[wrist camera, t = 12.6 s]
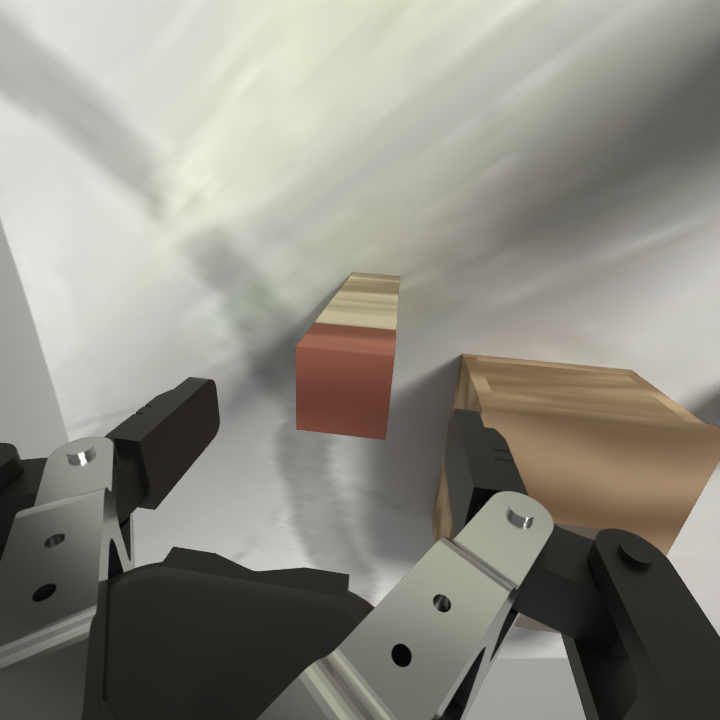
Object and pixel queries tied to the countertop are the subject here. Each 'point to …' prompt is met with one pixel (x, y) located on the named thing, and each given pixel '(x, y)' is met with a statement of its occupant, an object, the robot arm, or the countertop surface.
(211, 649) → the robot arm
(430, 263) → the countertop surface
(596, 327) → the countertop surface
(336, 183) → the countertop surface
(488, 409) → the lid
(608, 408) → the wooden box
